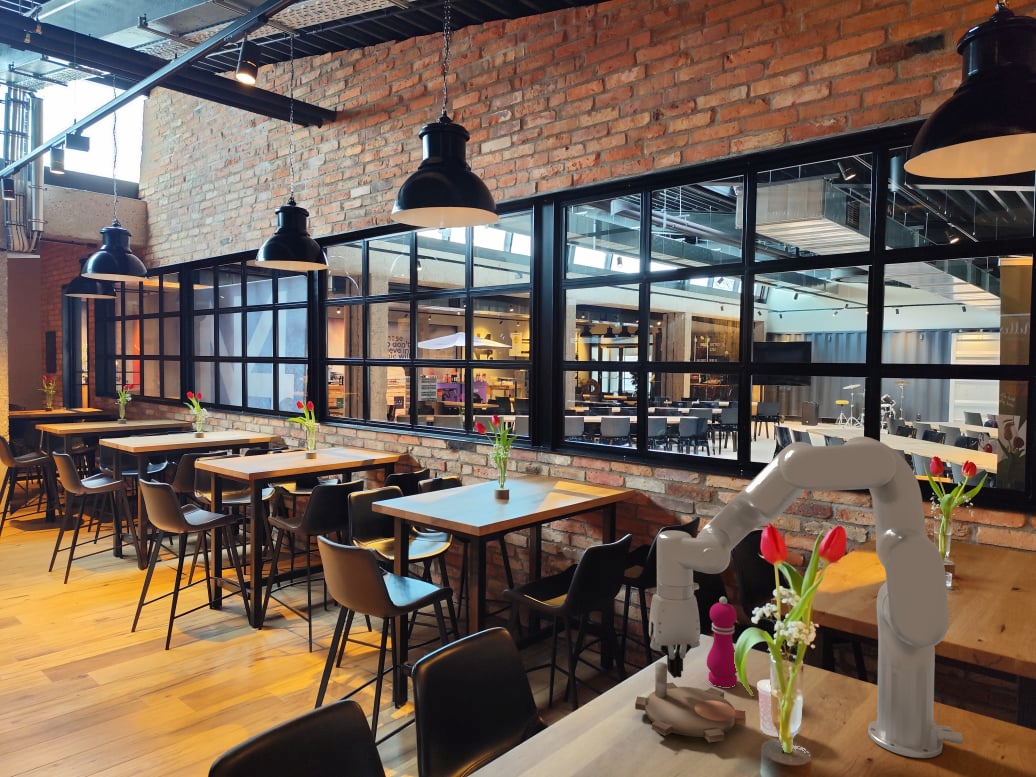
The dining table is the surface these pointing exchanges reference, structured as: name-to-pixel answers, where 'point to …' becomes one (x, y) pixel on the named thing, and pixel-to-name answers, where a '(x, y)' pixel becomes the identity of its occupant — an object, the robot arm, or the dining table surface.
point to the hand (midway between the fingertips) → (675, 674)
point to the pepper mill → (722, 645)
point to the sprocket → (688, 709)
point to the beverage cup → (765, 708)
